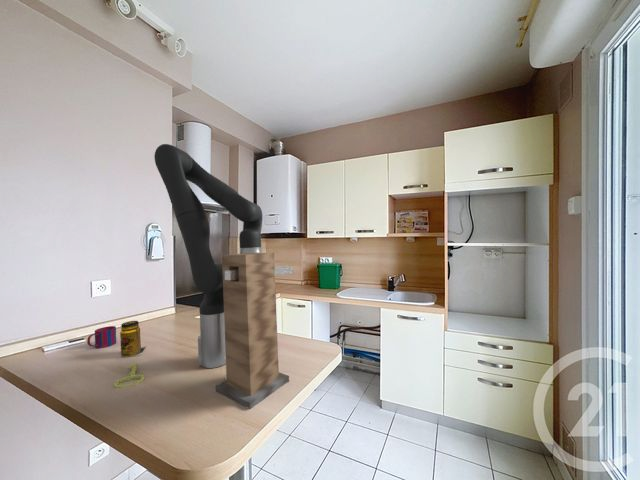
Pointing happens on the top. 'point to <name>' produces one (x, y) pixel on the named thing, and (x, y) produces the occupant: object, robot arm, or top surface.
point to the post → (250, 329)
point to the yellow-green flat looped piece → (130, 378)
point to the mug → (104, 337)
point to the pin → (278, 271)
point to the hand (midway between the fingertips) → (253, 309)
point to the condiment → (130, 340)
